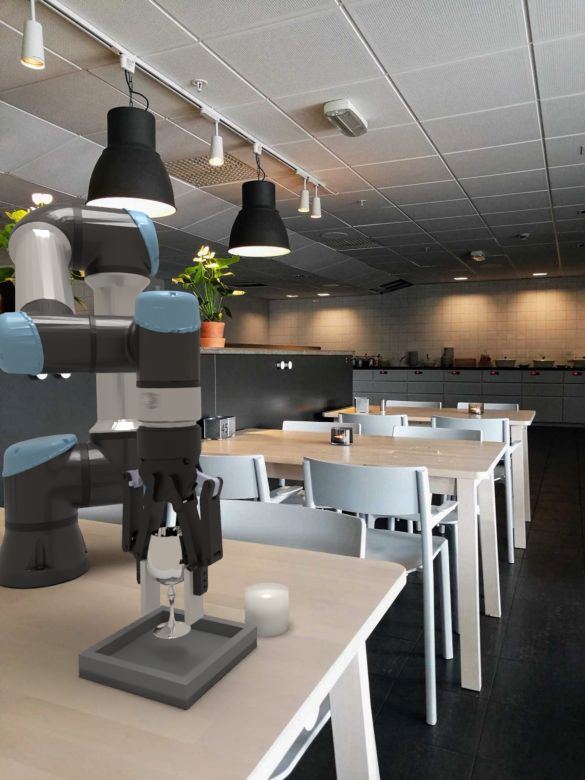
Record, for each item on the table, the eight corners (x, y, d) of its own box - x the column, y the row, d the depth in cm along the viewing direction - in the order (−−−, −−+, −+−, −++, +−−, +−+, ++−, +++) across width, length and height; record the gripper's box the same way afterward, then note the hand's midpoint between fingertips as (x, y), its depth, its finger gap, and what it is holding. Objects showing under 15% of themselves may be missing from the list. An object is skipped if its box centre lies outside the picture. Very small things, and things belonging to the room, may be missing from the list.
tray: (79, 676, 66) (78, 654, 66) (162, 623, 80) (161, 605, 80) (186, 709, 60) (186, 685, 60) (257, 646, 73) (256, 626, 73)
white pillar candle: (236, 631, 78) (236, 595, 77) (258, 614, 83) (258, 579, 83) (276, 640, 75) (276, 602, 75) (296, 622, 80) (296, 586, 80)
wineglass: (142, 626, 71) (140, 529, 70) (188, 616, 73) (186, 522, 73) (154, 645, 66) (152, 541, 65) (202, 634, 68) (201, 534, 68)
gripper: (86, 423, 69) (90, 613, 70) (218, 429, 61) (221, 644, 62) (129, 418, 76) (132, 591, 77) (253, 423, 68) (255, 617, 69)
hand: (172, 615), depth 70 cm, fingers closed on wineglass, 6 cm apart
